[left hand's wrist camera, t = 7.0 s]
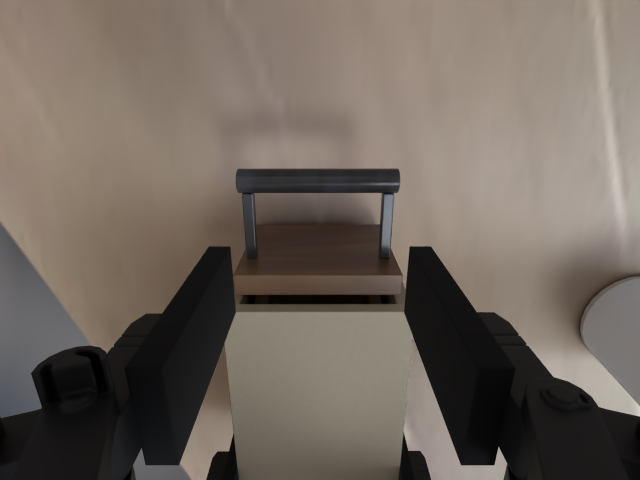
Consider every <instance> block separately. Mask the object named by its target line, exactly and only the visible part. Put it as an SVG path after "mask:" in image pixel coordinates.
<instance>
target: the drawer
mask: <svg viewBox="0 0 640 480" xmlns="http://www.w3.org/2000/svg"><path fill="white" fill-rule="evenodd" d="M236 187H237V191H238V193H243V194H242V201H243V215H244V228H245V242H246V250H245V252H244V254H243V256H242V258H241V260H240V263H239V265H238V267H237V269H236V271H235V273H234V287H235V295H257V297H256V300H255V303H254V304H382V301H381V298H380V295H401V290H402V278H403V275H402V273H401V270H400V268H399V266H398V264H397V261H396V259H395V257H394V255H393V252H392V250H391V248H390V247H391V233H392V218H393V203H394V193H397V192H398V191H399V187H400V172H399V169H238V170H237V172H236ZM254 193H382V200H381V217H380V225H257V226H256V212H255V196H254Z"/></svg>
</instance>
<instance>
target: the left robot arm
mask: <svg viewBox="0 0 640 480" xmlns="http://www.w3.org/2000/svg"><path fill="white" fill-rule="evenodd" d="M235 314H236V306H235V295H234V284H233V272H232V261H231V250H230V247H208V249H207V250H206V252H205V253H204V255H203V256H202V258H201V259H200V260H199V262H198V263H197V265H196V266H195V268H194V269H193V270H192V272H191V273H190V275H189V276H188V278H187V279H186V280H185V282H184V283H183V285H182V286H181V288H180V289H179V290H178V292H177V293H176V295H175V296H174V298H173V299H172V300H171V302H170V303H169V305H168V306H167V308H166V309H165V310H164V312H163V313H162V314H145V315H143V316H142V317H140V318H139V319H137V320H136V321H134V322H133V323H131V324H130V326H129V327H128V328H127V329H126V331H125V332H124V333H123V334H122V337H120V338H119V339H118V341H117V342H116V343H115V344H114V347H112V348H111V349H110V351H109V352H108V353H107V354H106V352H105V351H104V350H103V349H101V348H99V347H94V346H80V347H74V348H71V349H67V350H63V351H61V352H59V353H57V354H54V355H52V356H50V357H48V358H47V359H46V360H44V361H43V362H41V363H40V364H38V366H37V367H36V368H35V369H34V370H33V372H32V373H31V374H32V378H33V381H34V384H35V387H36V390H37V393H38V396H39V399H40V402H41V405H42V408H41V409H39V410H36V411H31V412H27V413H22V414H18V415H14V416H9V417H5V418H0V480H136V478H135V472H134V468H133V464H134V462H135V460H136V458H137V456H138V454H139V452H140V450H141V448H142V451H143V455H144V460H145V464H146V465H179V463H180V461H181V458H182V455H183V453H184V450H185V447H186V445H187V442H188V439H189V437H190V434H191V431H192V429H193V426H194V423H195V421H196V418H197V415H198V413H199V410H200V407H201V405H202V402H203V399H204V397H205V394H206V391H207V389H208V386H209V383H210V381H211V378H212V375H213V373H214V370H215V367H216V365H217V362H218V359H219V356H220V354H221V351H222V348H223V346H224V343H225V340H226V338H227V335H228V332H229V330H230V327H231V324H232V322H233V319H234V316H235ZM404 314H405V316H406V319H407V322H408V324H409V327H410V330H411V332H412V335H413V338H414V340H415V343H416V346H417V348H418V351H419V354H420V356H421V359H422V362H423V364H424V367H425V370H426V373H427V375H428V378H429V381H430V383H431V386H432V389H433V391H434V394H435V397H436V399H437V402H438V405H439V407H440V410H441V413H442V415H443V418H444V421H445V423H446V426H447V429H448V431H449V434H450V437H451V439H452V442H453V445H454V447H455V450H456V453H457V455H458V458H459V461H460V463H461V465H494V464H495V460H496V455H497V451H498V446H499V448H500V450H501V452H502V454H503V456H504V458H505V460H506V462H507V467H506V472H505V476H504V480H640V417H639V416H634V415H630V414H625V413H621V412H616V411H612V410H607V409H604V408H600V407H598V405H597V404H596V403H595V401H594V400H593V398H592V397H591V396H590V395H589V394H587V393H586V392H585V391H584V390H582V389H581V388H579V387H577V386H575V385H574V384H572V383H570V382H568V381H564V380H561V379H558V378H554V377H553V376H552V375H551V374H550V372H549V371H548V370H547V369H546V367H545V366H544V365H543V364H542V362H541V361H540V360H539V359H538V357H537V356H536V355H535V354H534V352H533V351H532V350H531V349H530V348H529V346H526V343H525V341H524V340H523V339H522V338H521V336H519V335H518V333H517V331H516V330H515V329H514V328H513V326H512V325H511V324H510V323H509V322H508V321H506V320H505V319H503V318H502V317H500V316H499V315H497V314H496V313H494V312H476V310H475V309H474V308H473V306H472V305H471V303H470V302H469V300H468V299H467V298H466V296H465V295H464V293H463V292H462V290H461V289H460V288H459V286H458V285H457V283H456V282H455V280H454V279H453V278H452V276H451V275H450V273H449V272H448V270H447V269H446V268H445V266H444V265H443V263H442V262H441V260H440V259H439V257H438V256H437V255H436V253H435V252H434V250H433V249H432V247H410V250H409V261H408V272H407V284H406V295H405V306H404Z"/></svg>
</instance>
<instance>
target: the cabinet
mask: <svg viewBox="0 0 640 480" xmlns="http://www.w3.org/2000/svg"><path fill="white" fill-rule="evenodd" d="M234 295H235V287H234ZM405 295H406V289H405V287H404V285H403V282H402V290H401V295H380V298H381V301H382V304H254V303H255V300H256V297H257V295H235V306H236V314H235V316H234V319H233V322H232V324H231V327H230V330H229V332H228V335H227V338H226V340H225V343H224V346H225V355H226V365H227V374H228V383H229V393H230V402H231V412H232V421H233V431H234V440H235V450H236V459H237V468H238V477H239V480H399V471H400V461H401V451H402V441H403V431H404V421H405V410H406V400H407V390H408V380H409V370H410V360H411V350H412V340H413V335H412V332H411V330H410V327H409V324H408V322H407V319H406V316H405V314H404V306H405Z"/></svg>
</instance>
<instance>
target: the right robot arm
mask: <svg viewBox="0 0 640 480" xmlns="http://www.w3.org/2000/svg"><path fill="white" fill-rule="evenodd" d="M206 480H239V477H238V468H237V459H236V450H235V440H234V434H233V438H232V442H231V446H230V450H229V452H217V453H216V454H215V456H214V457H213V459H212V462H211V466H210V469H209V473H208V476H207V479H206ZM399 480H431V478H430V474H429V470H428V467H427V463H426V460H425V457H424V456H423V454H422V453H421V452H420V451H408V448H407V444H406V440H405V436H404V432H403V441H402V451H401V461H400V471H399Z"/></svg>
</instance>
